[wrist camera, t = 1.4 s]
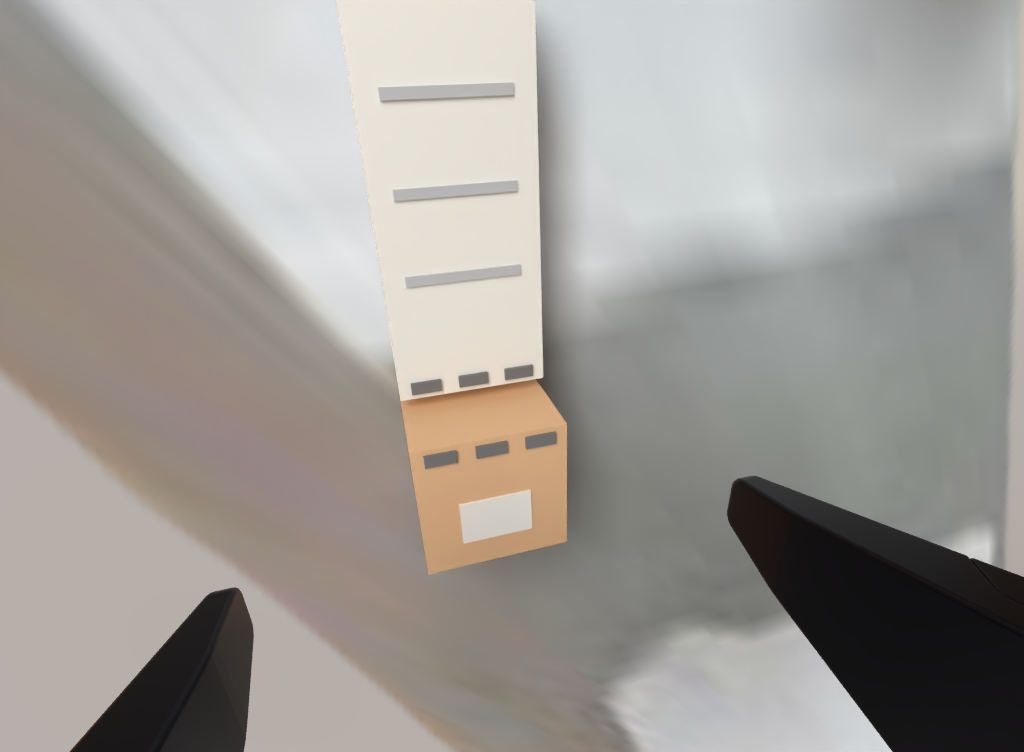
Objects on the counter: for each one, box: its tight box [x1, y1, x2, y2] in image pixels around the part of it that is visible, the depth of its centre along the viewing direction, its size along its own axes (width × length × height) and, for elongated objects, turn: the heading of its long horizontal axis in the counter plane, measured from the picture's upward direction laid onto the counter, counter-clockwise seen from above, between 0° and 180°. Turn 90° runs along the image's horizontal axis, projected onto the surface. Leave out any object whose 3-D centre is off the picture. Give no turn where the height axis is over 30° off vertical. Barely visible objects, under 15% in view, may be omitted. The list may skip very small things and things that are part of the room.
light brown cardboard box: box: [401, 379, 567, 574], centre depth 20 cm, size 5×5×6 cm
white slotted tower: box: [336, 0, 543, 401], centre depth 17 cm, size 5×12×4 cm, turn 3°
